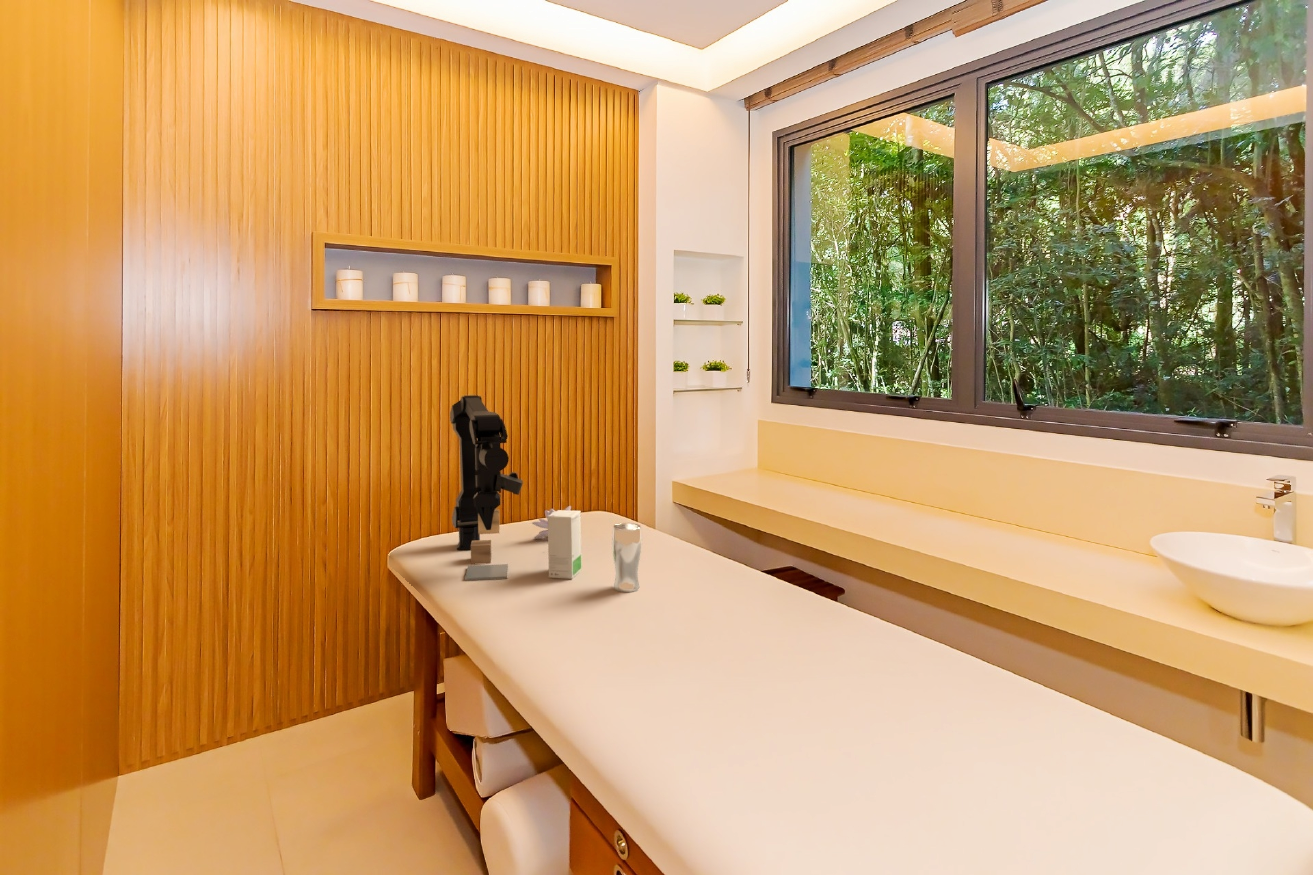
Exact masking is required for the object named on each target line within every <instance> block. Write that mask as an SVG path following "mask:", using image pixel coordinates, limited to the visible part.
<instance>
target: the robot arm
mask: <svg viewBox="0 0 1313 875" xmlns="http://www.w3.org/2000/svg"><path fill="white" fill-rule="evenodd" d="M449 421H450V424H452V429H453V430H452V431H454V433H455V434H456V436H457V437H458V440H459V441H458V442H459V466H460V467H459V468H460V469H459V470H460V491H459V494H458V495H457V496H456V499H455V506H454V507H453V511H452V516H451V520H452V521H451V522H452V526H453V527H454V528H455V529H458V544H457V546H456V550H471V542H472V541H475V540H481V536H480V535H481V534H479V533H478V513H479V515H480V517H481V519H482V522H483V524H484V526H485V528H486V530H491V525H492V520H493V514H494V510H495V509H498V507H500V506H501V498H502V497H501V494H502V490H504V491H506V492H509V493H512V495H513V494H514V495H517V496H518V495H520V492H521V490H522V486H523V484H524V481H523V480H522V479H521V478H519V476H518V475H519V474H518V473H517V472H514V471H511V472H510V473H509V474H504V473H502V471H503V470H504V469H506V467H507V465H508V464H509V460H510V459H509V457H510V456H509V455H508V452H507V450H505V449H503V448H502V447H501V444H507V443H508V442H507V440H508V437H509V436H508V432H507V428H506V424H505V422H504V420H503V418H502V417H501V416H500V414H498V413H496V412H494V411H489V410H488V408H487V406H486V405H485V404H484V402H483V400H482V396H481V395H477V394H476V395H475V394H470V395H467V394H466V395H465V394H464V395H462V396H461V397H460V400H458V401H457V402H455V403H454V404H452V406H451V410H450V412H449Z"/></svg>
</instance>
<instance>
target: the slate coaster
mask: <svg viewBox="0 0 1313 875" xmlns="http://www.w3.org/2000/svg"><path fill="white" fill-rule="evenodd" d="M508 570H509V565H508V563H506V564H505V563H504V564H502V563H501V564H499V563H498V564H482V565H481V564H476V565H467V569H466V572H465V577H464V581H466V582H467V581H468V582H469V581H470V580H471V581H485V580H486V581H487V580H488V581H489V580H505V579H506V580H508V572H509V571H508Z"/></svg>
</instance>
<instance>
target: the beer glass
mask: <svg viewBox="0 0 1313 875" xmlns="http://www.w3.org/2000/svg"><path fill="white" fill-rule="evenodd" d="M642 540H643V539H642V526H641V524H638V523H636V522H635V523H634V522H619V523H616V524H614V525H613V526H612V536H611V550H612V558H613V564H614V570H615V571H614V572H615V575H614V576H615V577H614V583H613V589H614V590H615V591H617V592H620V593H632V592H633V593H634V592H636V591H638V590H640V581H639V565H640V561H641V554H642V548H643V547H642V546H643V543H642Z"/></svg>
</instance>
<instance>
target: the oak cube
mask: <svg viewBox="0 0 1313 875" xmlns="http://www.w3.org/2000/svg"><path fill="white" fill-rule="evenodd" d="M500 526H501V525H500V508H499V509H498V508H496V509H495V510H494V514H493V520H492V525H491V530H486V528H485V526H484V524H483V522H482V519H481V517H480V515H479V513H478V533H479V534H480V535H490V534H491V535H493V534H500V530H501V529H500V528H501V527H500Z"/></svg>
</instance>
